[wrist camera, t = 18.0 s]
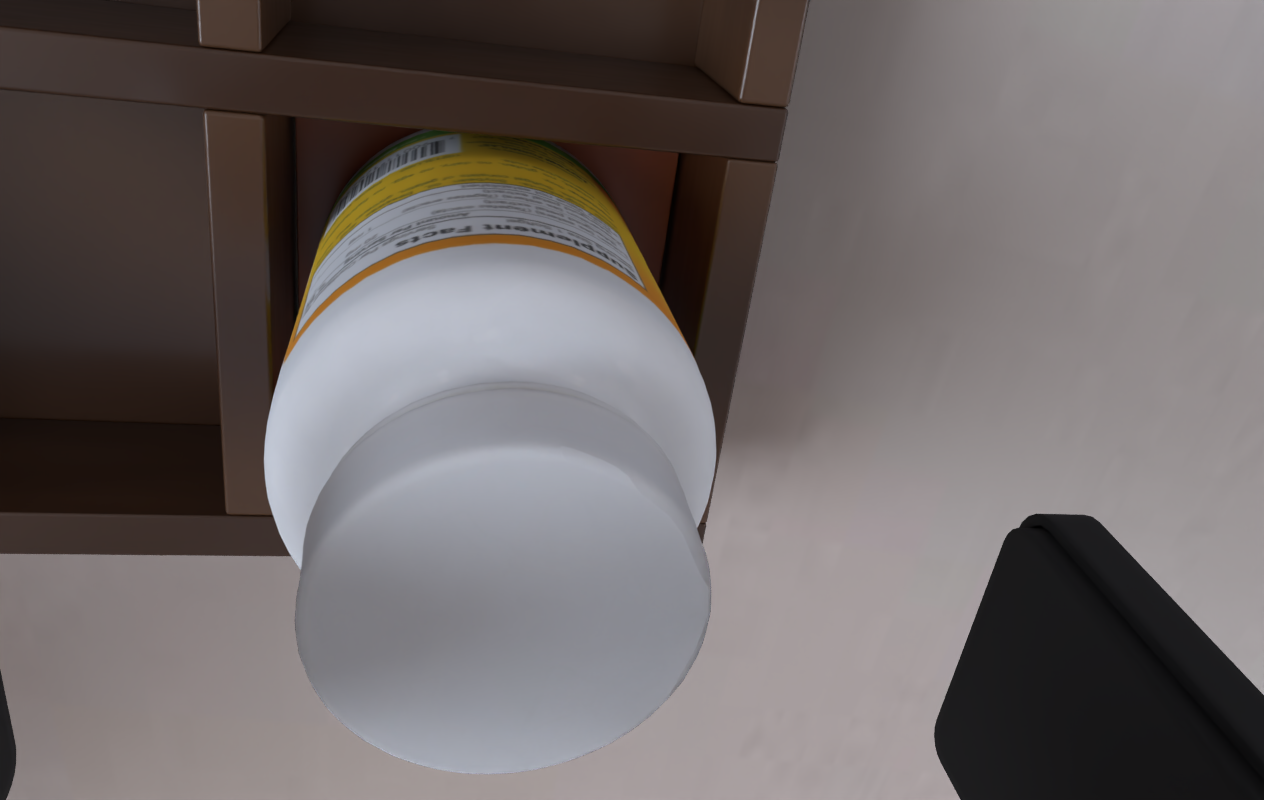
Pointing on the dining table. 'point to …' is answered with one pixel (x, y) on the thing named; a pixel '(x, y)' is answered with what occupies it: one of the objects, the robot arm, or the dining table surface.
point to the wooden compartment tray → (315, 213)
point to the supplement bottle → (489, 461)
